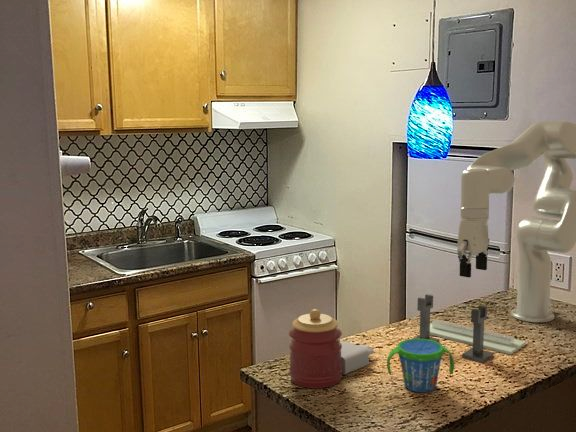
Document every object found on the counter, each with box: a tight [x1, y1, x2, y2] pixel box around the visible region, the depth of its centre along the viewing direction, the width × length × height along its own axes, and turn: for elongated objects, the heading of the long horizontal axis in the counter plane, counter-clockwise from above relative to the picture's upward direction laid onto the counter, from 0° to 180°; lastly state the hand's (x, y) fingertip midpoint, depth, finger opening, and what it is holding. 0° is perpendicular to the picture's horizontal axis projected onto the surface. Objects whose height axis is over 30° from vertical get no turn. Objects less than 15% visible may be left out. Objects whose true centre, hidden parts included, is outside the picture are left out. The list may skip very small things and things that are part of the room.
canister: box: [288, 308, 343, 389], centre depth 154 cm, size 13×13×18 cm
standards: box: [412, 294, 495, 364], centre depth 172 cm, size 6×22×14 cm, turn 48°
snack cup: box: [386, 338, 455, 393], centre depth 149 cm, size 16×11×10 cm
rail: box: [431, 318, 515, 346], centre depth 181 cm, size 2×24×2 cm, turn 48°
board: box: [418, 322, 527, 355], centre depth 181 cm, size 10×28×1 cm, turn 47°
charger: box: [340, 341, 375, 375], centre depth 165 cm, size 5×9×15 cm
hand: (473, 272), depth 179 cm, fingers open, 9 cm apart
